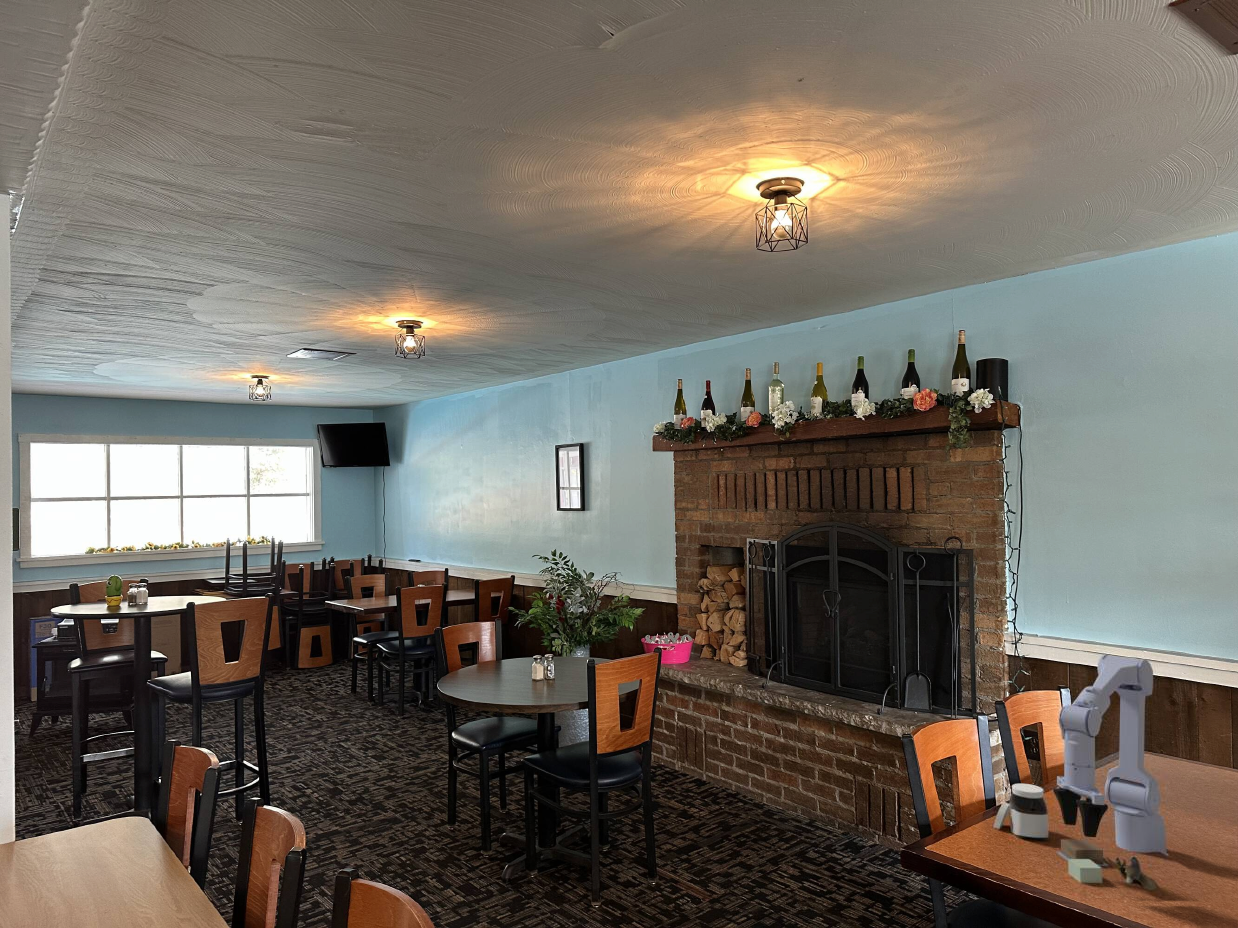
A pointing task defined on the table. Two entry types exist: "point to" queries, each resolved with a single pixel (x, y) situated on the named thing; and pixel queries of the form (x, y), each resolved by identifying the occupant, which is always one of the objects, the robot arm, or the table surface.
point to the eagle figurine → (1134, 873)
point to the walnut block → (1081, 850)
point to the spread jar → (1025, 813)
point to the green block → (1085, 870)
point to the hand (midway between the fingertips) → (1079, 830)
